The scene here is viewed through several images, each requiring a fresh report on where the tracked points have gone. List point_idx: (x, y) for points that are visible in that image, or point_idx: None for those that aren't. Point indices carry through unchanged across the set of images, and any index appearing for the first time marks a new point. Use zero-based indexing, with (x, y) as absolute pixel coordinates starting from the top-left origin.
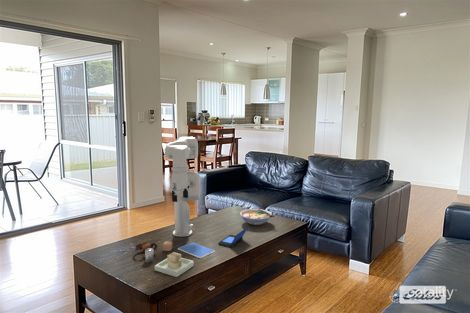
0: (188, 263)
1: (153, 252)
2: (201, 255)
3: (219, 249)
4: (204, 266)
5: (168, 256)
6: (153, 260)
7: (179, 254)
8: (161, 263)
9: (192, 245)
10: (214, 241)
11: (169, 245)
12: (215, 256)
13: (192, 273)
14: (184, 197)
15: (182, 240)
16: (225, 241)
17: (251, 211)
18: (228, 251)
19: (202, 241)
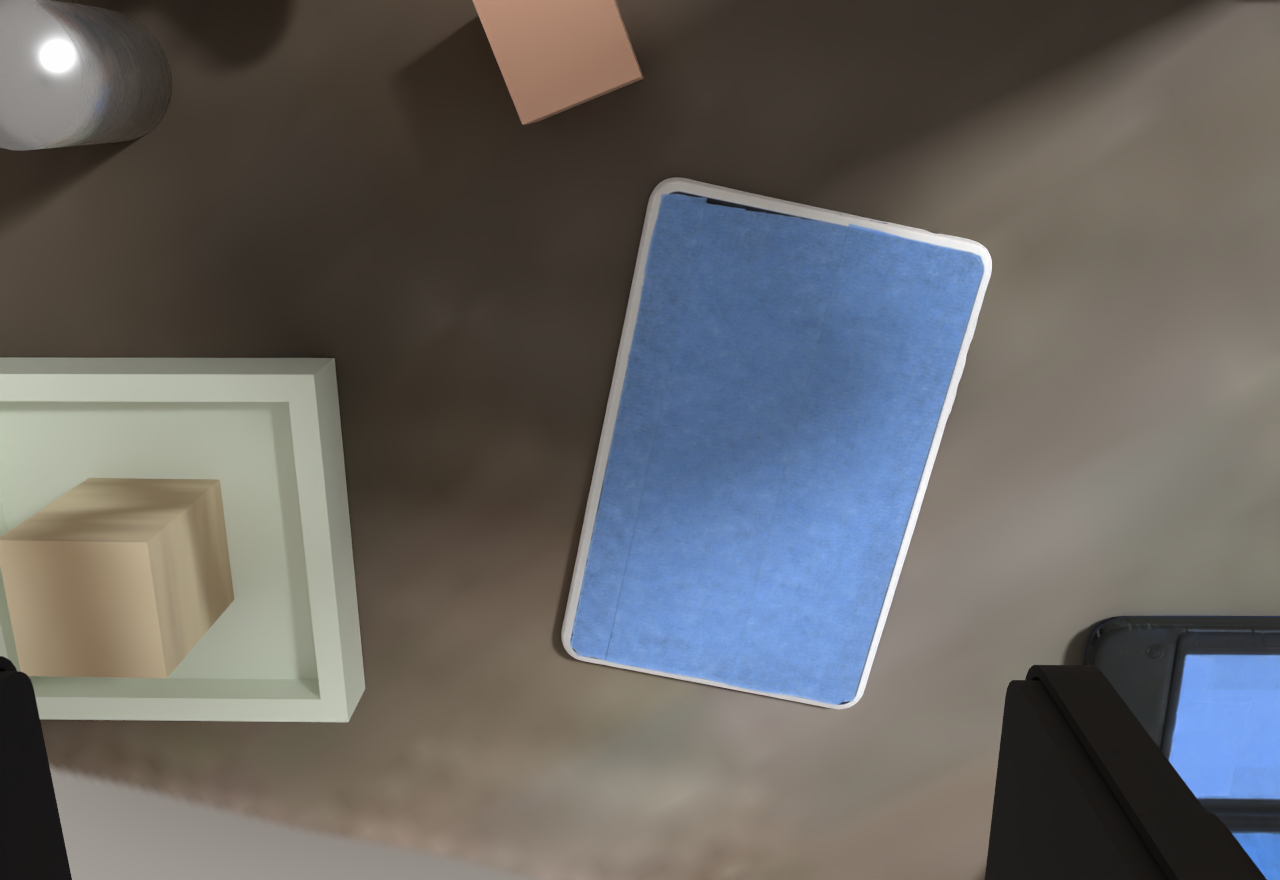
0: (253, 706)
1: (77, 140)
2: (622, 643)
3: (944, 714)
4: (420, 799)
5: (3, 560)
6: (134, 138)
7: (140, 664)
8: (41, 399)
9: (864, 332)
10: (1188, 514)
11: (521, 117)
12: (722, 774)
13: (206, 777)
14: (999, 771)
15: (1008, 13)
16: (1194, 701)
17: None
18: (938, 835)
19: (1112, 352)
